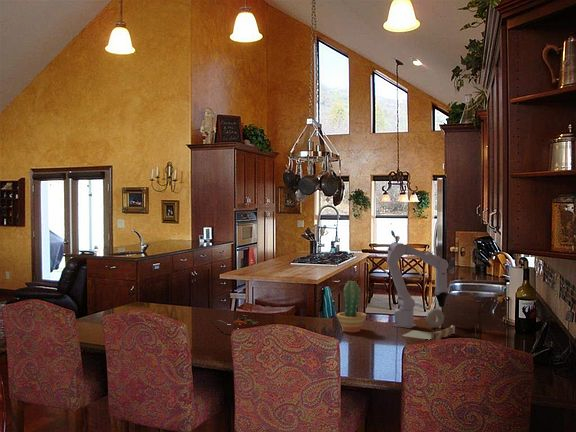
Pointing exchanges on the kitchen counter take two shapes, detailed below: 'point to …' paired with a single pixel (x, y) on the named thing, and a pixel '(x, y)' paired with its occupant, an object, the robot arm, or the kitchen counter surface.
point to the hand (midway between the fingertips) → (441, 306)
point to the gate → (442, 333)
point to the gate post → (453, 329)
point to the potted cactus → (351, 308)
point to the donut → (439, 318)
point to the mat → (418, 334)
